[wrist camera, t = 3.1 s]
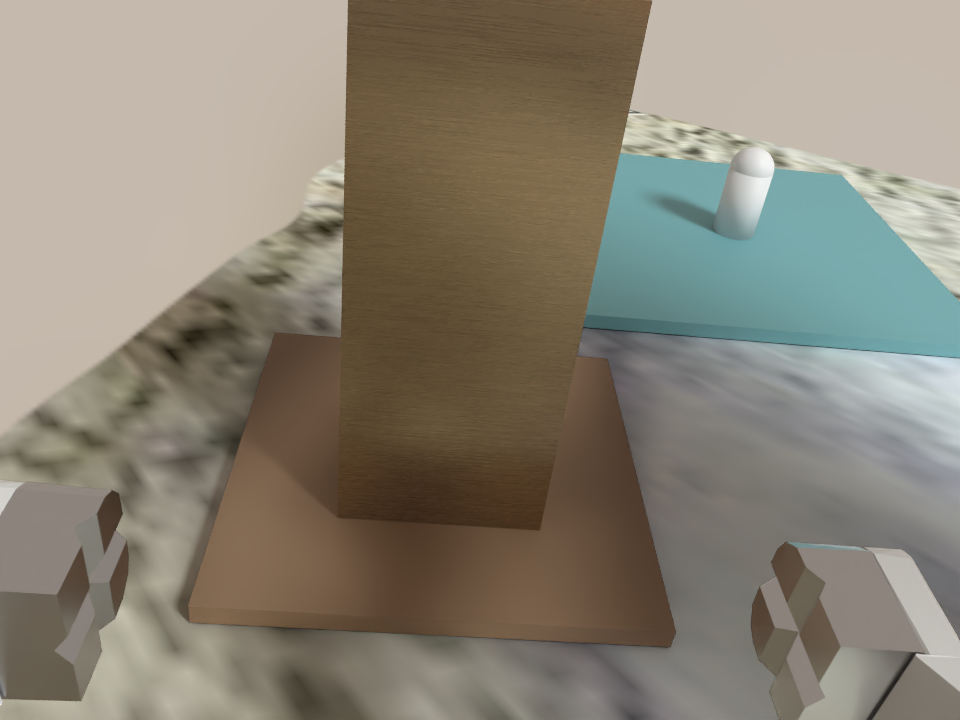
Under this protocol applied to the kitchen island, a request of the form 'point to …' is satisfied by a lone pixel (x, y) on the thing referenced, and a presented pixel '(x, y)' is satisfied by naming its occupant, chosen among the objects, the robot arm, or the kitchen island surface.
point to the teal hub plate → (762, 260)
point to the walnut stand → (427, 531)
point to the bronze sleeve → (472, 244)
